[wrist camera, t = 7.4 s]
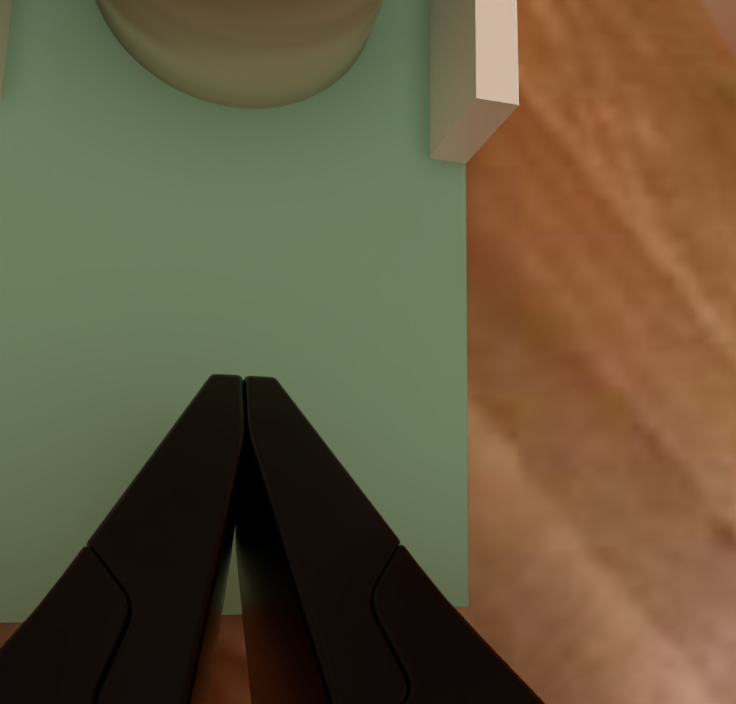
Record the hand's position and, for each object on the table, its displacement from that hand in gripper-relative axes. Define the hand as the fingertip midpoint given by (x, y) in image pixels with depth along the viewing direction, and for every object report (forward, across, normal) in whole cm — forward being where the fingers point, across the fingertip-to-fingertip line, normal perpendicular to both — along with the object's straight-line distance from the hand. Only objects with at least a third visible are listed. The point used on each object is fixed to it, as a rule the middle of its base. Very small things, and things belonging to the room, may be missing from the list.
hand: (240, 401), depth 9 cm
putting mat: (+10, 0, 0) cm, 10 cm away
